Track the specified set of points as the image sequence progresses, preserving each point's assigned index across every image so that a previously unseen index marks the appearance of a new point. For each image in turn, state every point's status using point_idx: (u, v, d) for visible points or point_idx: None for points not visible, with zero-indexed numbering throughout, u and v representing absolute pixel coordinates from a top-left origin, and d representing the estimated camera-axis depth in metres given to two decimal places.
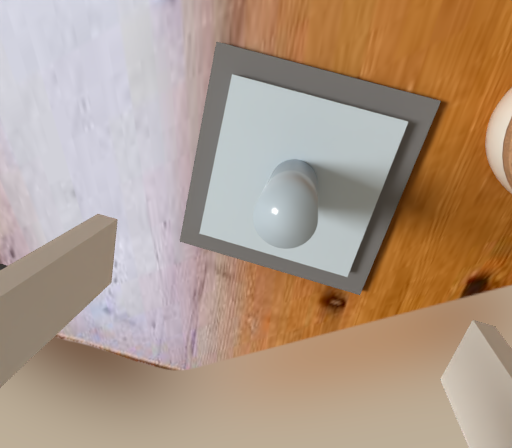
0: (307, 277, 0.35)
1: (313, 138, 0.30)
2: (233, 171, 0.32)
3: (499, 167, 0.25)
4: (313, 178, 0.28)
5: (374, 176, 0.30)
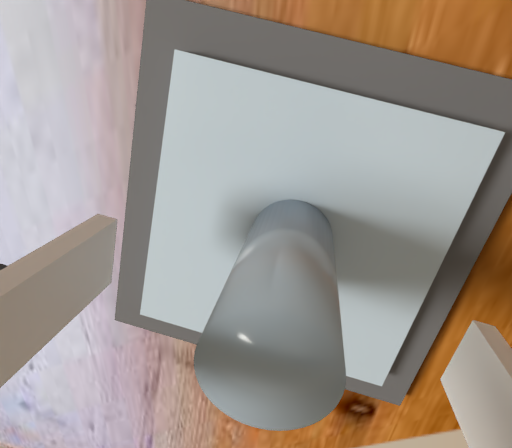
0: None
1: (325, 163, 0.16)
2: (188, 218, 0.18)
3: None
4: (327, 243, 0.15)
5: (434, 229, 0.17)
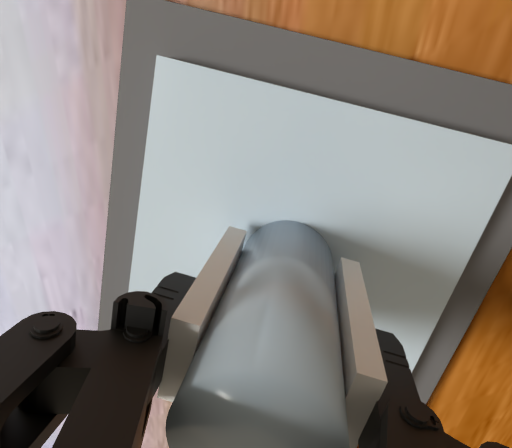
0: None
1: (323, 181, 0.15)
2: (173, 240, 0.17)
3: None
4: (326, 273, 0.13)
5: (445, 254, 0.15)
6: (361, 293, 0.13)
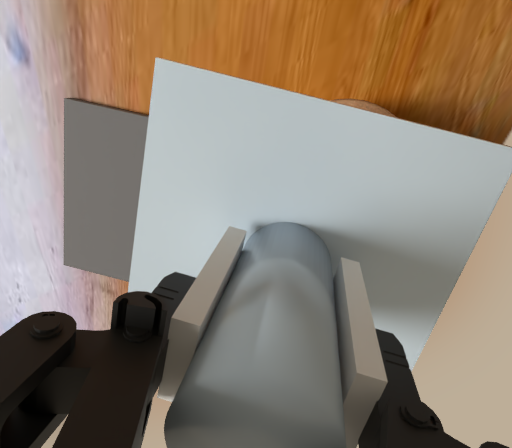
0: None
1: (322, 183, 0.15)
2: (172, 241, 0.17)
3: None
4: (325, 275, 0.13)
5: (443, 256, 0.15)
6: (361, 293, 0.13)
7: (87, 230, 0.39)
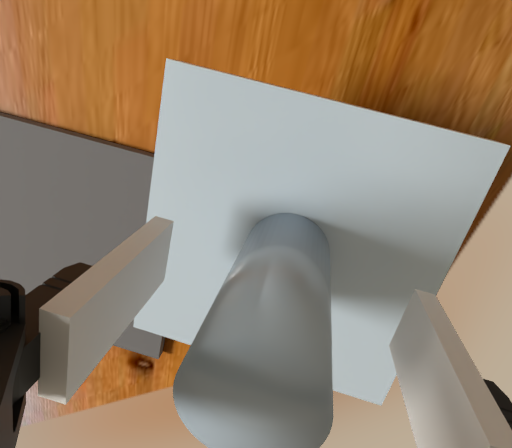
0: None
1: (321, 176, 0.16)
2: (181, 231, 0.18)
3: None
4: (321, 261, 0.14)
5: (436, 245, 0.16)
6: (452, 335, 0.11)
7: (0, 265, 0.33)
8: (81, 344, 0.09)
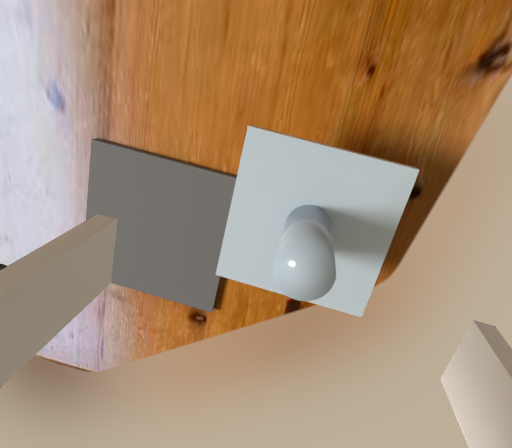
0: (173, 300, 0.48)
1: (327, 185, 0.31)
2: (249, 215, 0.33)
3: None
4: (328, 226, 0.29)
5: (387, 221, 0.31)
6: None
7: None
8: None
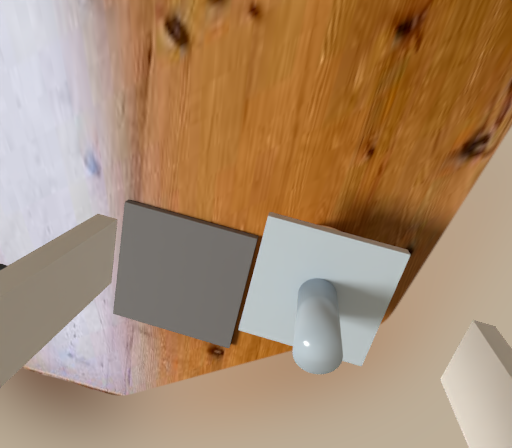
0: (195, 337, 0.54)
1: (333, 263, 0.37)
2: (267, 285, 0.39)
3: None
4: (335, 302, 0.35)
5: (383, 293, 0.37)
6: None
7: (134, 290, 0.53)
8: None
